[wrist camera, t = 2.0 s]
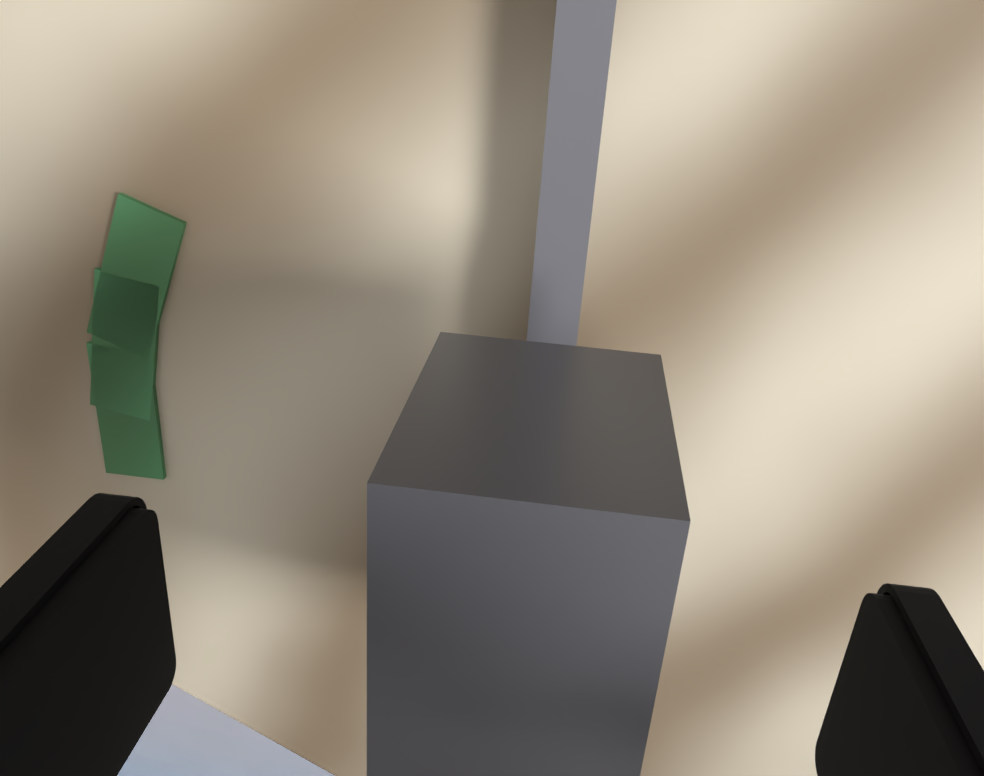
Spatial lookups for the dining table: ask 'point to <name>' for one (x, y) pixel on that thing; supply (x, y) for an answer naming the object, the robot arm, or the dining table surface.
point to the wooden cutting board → (498, 315)
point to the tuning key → (528, 511)
